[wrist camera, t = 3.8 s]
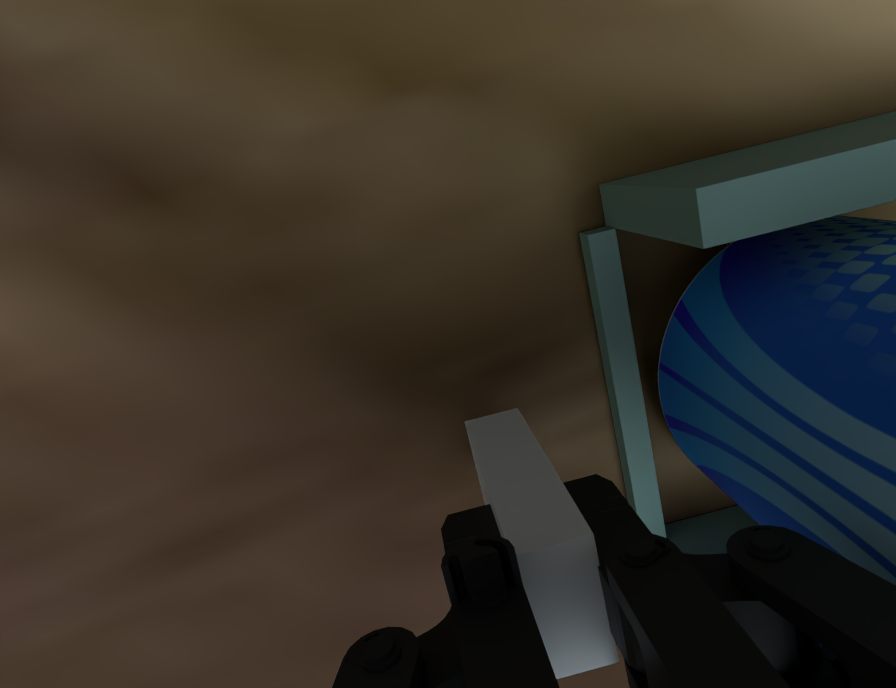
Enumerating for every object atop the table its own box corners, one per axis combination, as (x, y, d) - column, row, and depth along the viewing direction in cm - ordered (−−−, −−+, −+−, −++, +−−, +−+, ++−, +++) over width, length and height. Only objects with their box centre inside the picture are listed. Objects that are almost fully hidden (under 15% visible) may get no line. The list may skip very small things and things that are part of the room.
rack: (571, 191, 19) (656, 199, 13) (998, 85, 19) (1266, 46, 13) (638, 564, 22) (730, 703, 16) (1002, 466, 22) (1218, 568, 17)
